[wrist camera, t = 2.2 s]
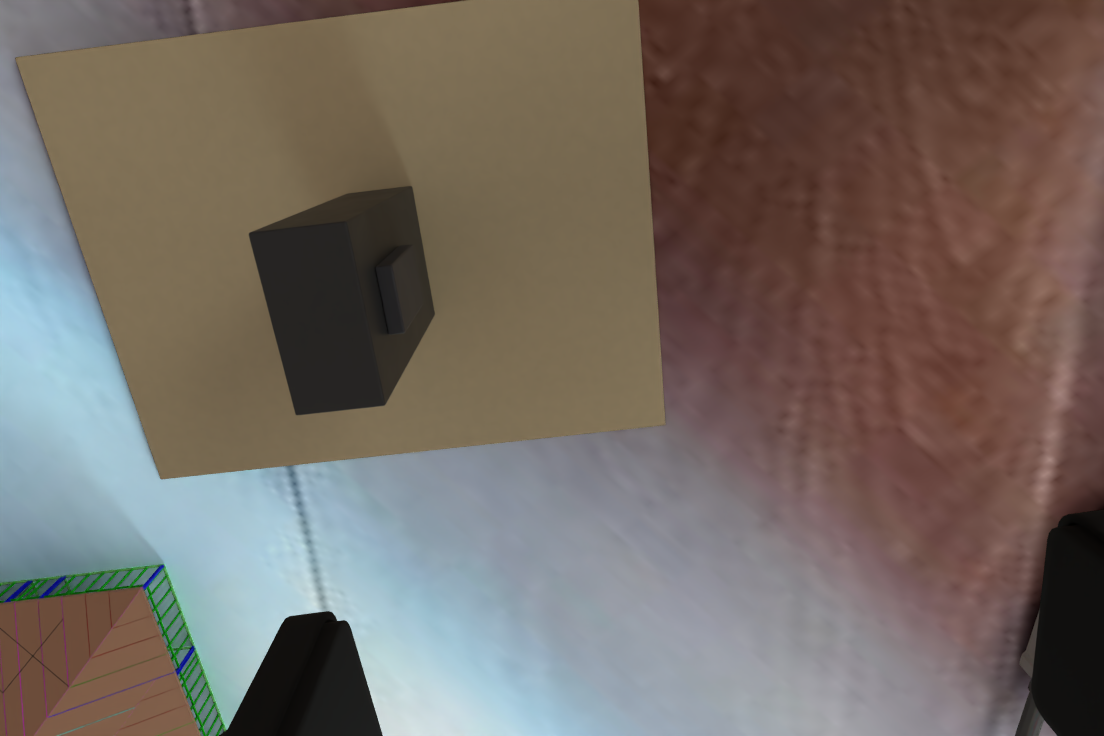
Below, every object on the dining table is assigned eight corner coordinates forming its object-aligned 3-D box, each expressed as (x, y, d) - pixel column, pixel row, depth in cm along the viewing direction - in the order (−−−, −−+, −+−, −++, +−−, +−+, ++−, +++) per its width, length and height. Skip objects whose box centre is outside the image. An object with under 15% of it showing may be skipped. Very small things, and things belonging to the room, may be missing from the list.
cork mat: (19, 58, 29) (14, 57, 29) (636, -21, 29) (637, -22, 28) (163, 476, 36) (160, 479, 36) (664, 422, 35) (665, 425, 35)
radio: (343, 193, 31) (243, 233, 21) (425, 184, 31) (366, 218, 21) (370, 322, 33) (291, 417, 23) (447, 313, 33) (404, 404, 23)
